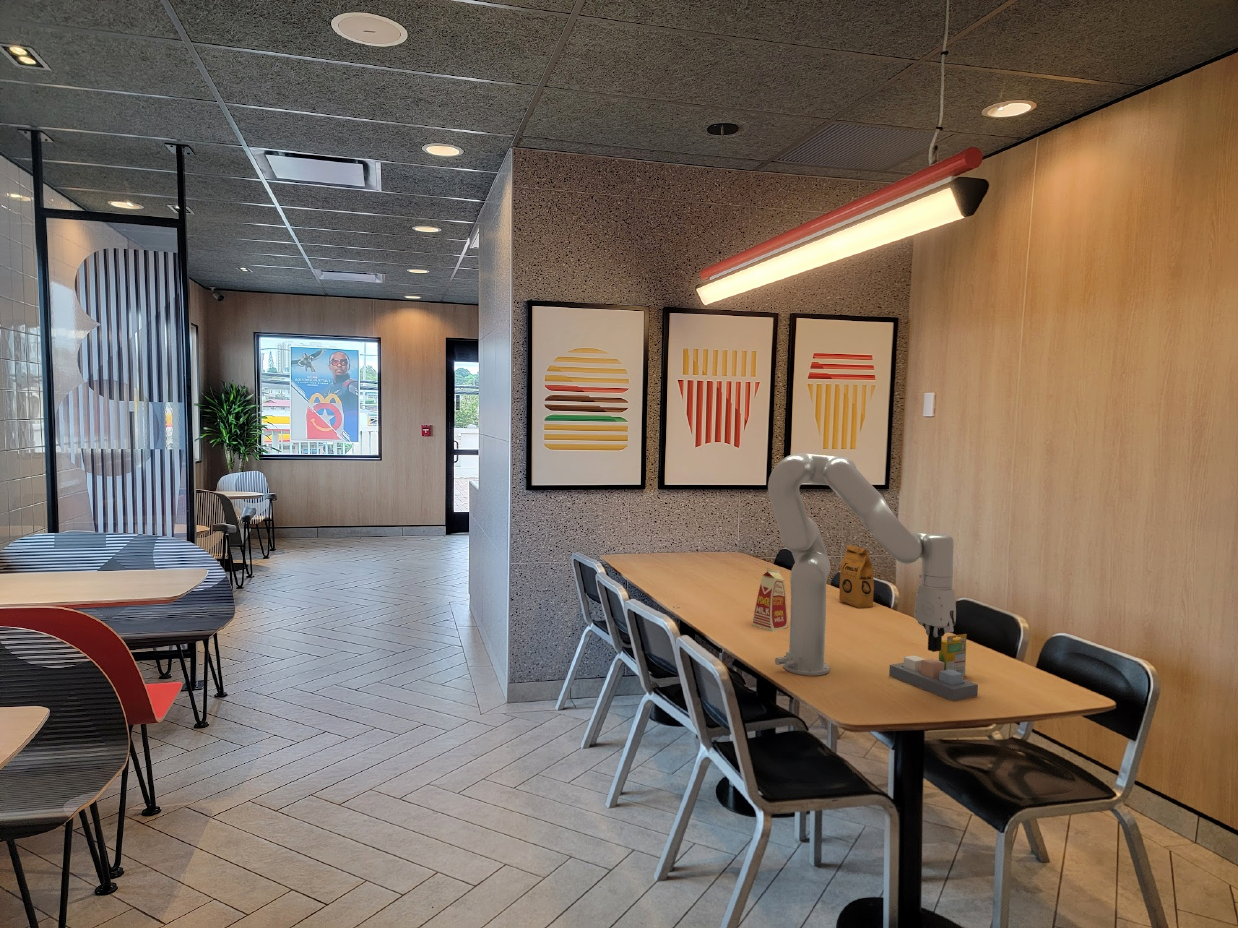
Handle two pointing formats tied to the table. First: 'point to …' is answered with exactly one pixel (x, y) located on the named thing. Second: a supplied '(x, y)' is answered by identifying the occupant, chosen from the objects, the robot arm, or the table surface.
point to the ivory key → (913, 663)
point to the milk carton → (771, 603)
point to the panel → (934, 683)
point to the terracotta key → (931, 667)
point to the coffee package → (856, 578)
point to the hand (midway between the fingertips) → (934, 650)
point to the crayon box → (954, 653)
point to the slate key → (951, 677)
